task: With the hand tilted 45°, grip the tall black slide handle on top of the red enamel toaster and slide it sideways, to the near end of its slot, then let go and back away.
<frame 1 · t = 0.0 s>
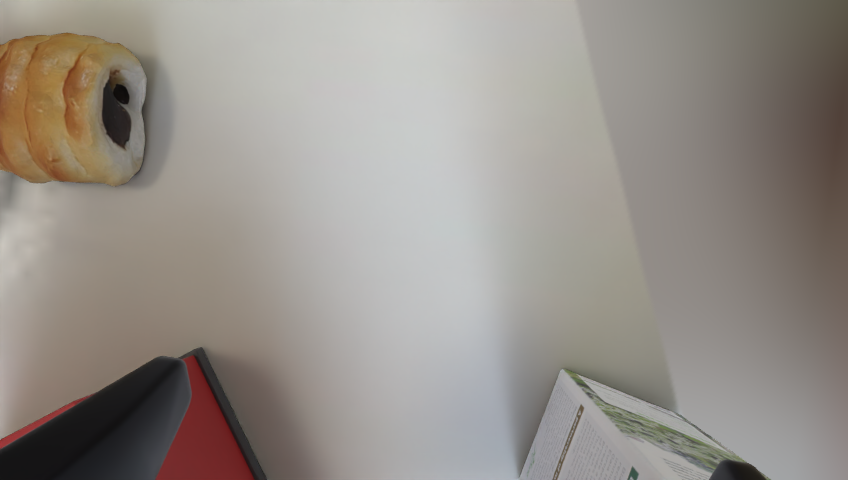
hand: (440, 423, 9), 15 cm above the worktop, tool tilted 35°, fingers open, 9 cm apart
pastry: (76, 122, 25), on the worktop
syrup box: (597, 446, 23), on the worktop
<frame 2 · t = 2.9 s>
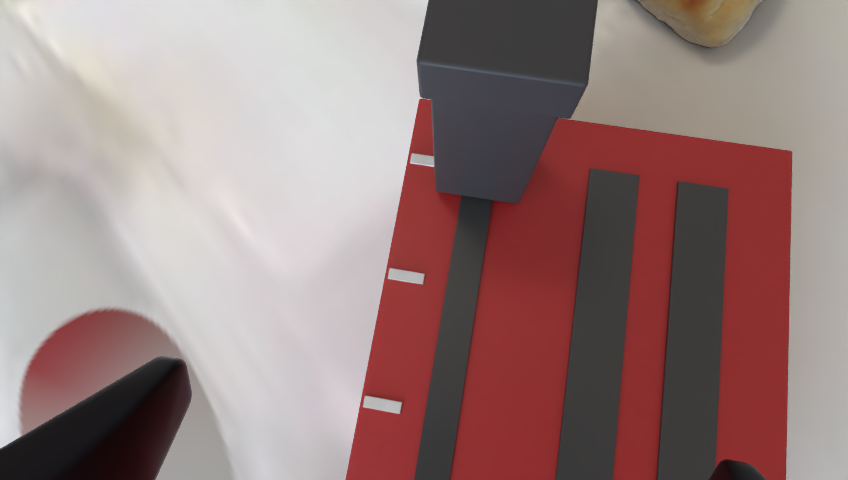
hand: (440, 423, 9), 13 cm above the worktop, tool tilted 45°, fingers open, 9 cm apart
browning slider: (492, 107, 12), point 12 cm above the worktop, slide at 0.0 cm
toaster: (526, 388, 22), on the worktop
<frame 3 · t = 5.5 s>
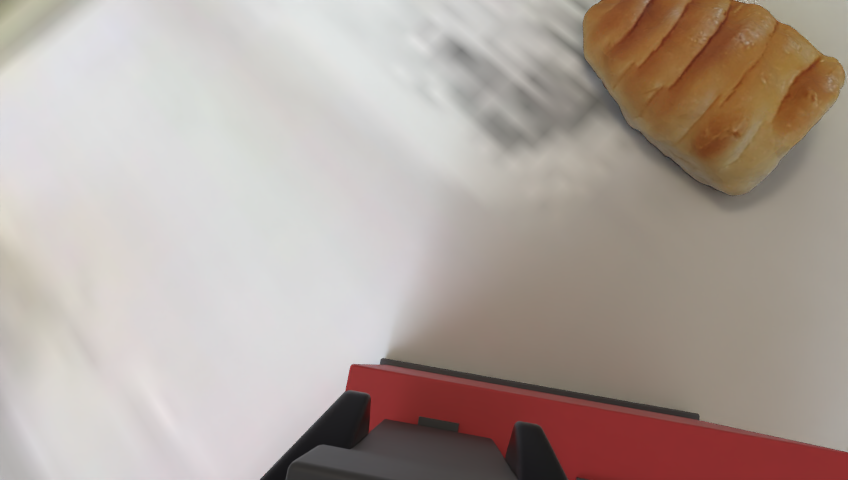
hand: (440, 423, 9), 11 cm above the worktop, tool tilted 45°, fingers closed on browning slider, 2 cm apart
pastry: (688, 103, 22), on the worktop
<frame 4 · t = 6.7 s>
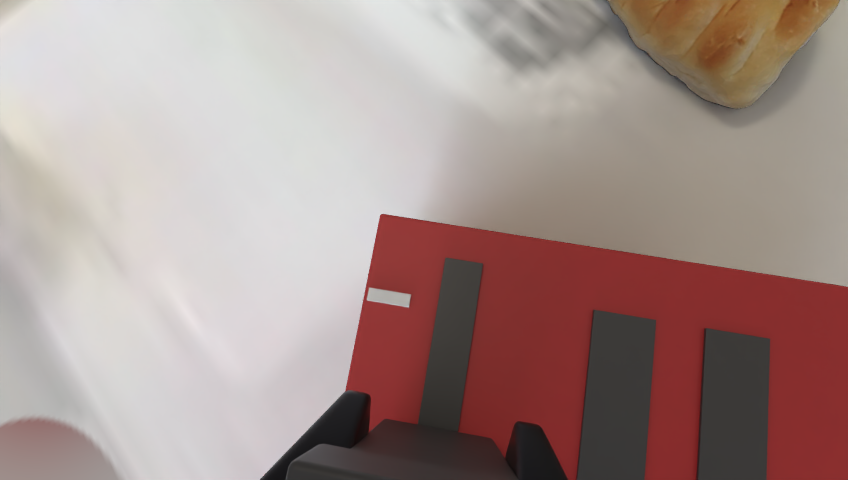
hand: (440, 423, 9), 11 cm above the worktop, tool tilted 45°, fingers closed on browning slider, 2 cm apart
pastry: (693, 27, 23), on the worktop
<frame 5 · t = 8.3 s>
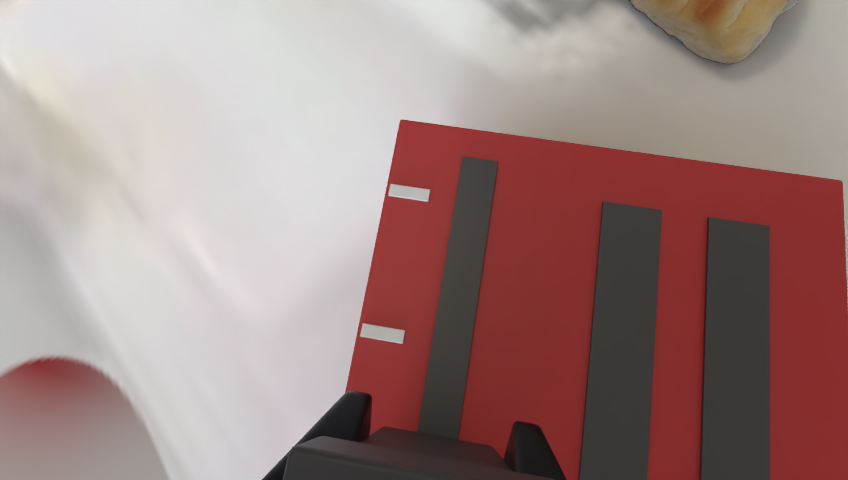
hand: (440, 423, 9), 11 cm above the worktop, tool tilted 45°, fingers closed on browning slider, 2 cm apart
toaster: (528, 449, 19), on the worktop
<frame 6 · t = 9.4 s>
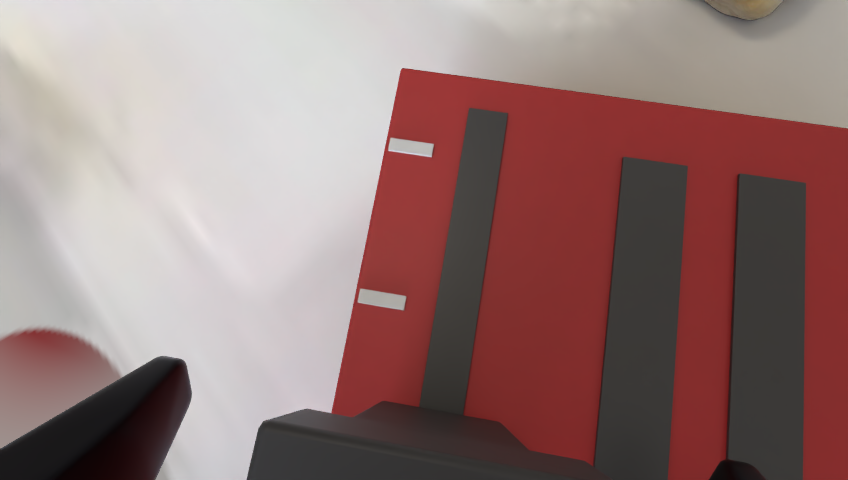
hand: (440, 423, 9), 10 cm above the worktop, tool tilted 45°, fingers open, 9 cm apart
toaster: (535, 424, 18), on the worktop
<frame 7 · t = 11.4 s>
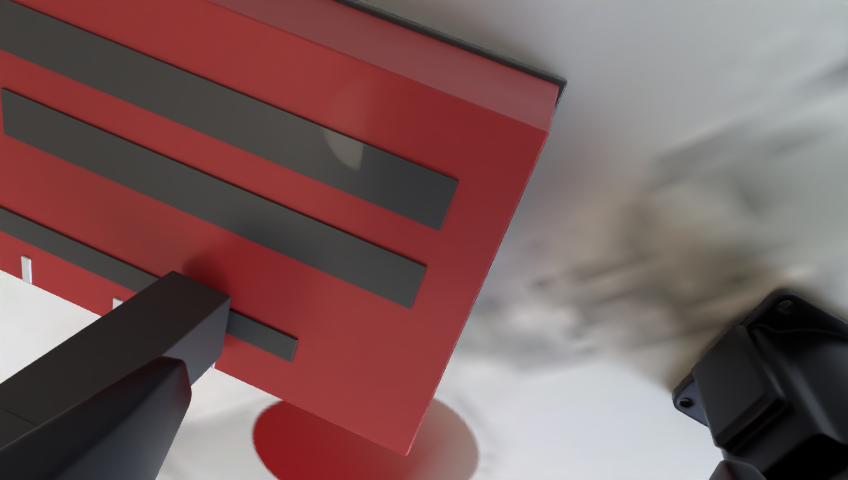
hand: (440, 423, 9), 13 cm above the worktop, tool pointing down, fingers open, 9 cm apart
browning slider: (108, 387, 13), point 12 cm above the worktop, slide at 6.5 cm
toaster: (322, 143, 22), on the worktop
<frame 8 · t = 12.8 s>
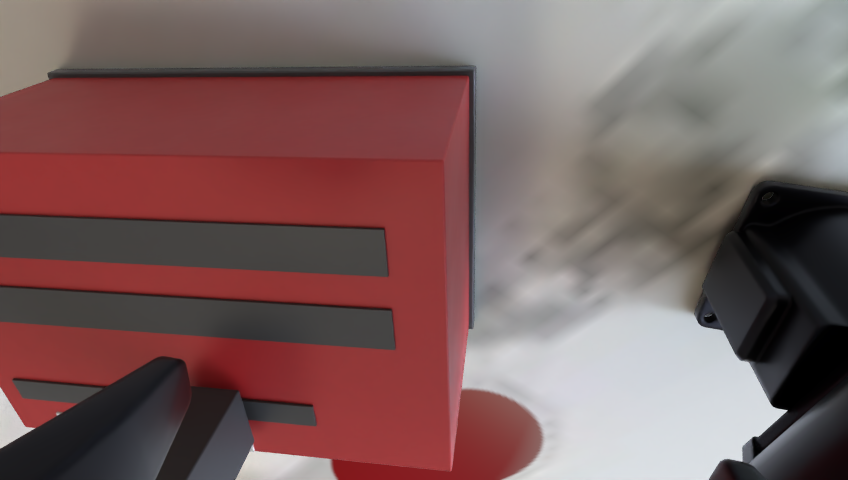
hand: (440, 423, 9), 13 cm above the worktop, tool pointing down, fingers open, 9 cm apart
toaster: (281, 204, 23), on the worktop
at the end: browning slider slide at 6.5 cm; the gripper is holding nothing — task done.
